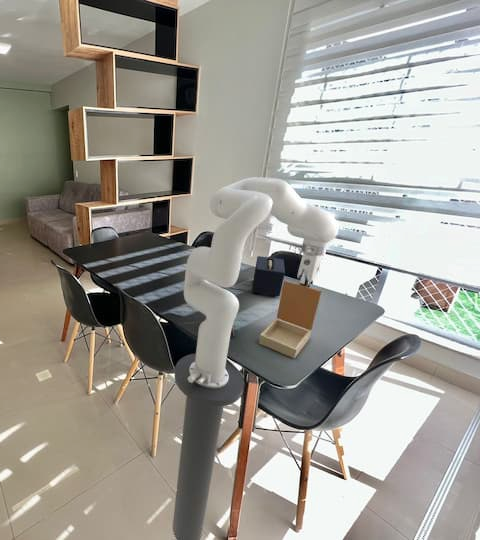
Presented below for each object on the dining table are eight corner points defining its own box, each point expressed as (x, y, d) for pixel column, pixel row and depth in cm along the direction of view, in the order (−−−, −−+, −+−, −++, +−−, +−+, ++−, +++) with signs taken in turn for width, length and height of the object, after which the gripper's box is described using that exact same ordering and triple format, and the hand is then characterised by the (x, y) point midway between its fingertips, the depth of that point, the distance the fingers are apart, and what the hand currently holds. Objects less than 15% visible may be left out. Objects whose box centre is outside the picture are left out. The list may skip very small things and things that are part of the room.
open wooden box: (294, 358, 102) (296, 349, 100) (258, 343, 110) (259, 334, 109) (308, 339, 112) (311, 331, 111) (274, 326, 121) (276, 318, 119)
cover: (321, 291, 103) (322, 290, 103) (283, 280, 111) (284, 280, 112) (311, 330, 110) (311, 329, 111) (276, 318, 119) (277, 317, 119)
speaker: (253, 279, 166) (257, 254, 161) (278, 283, 161) (283, 257, 155) (251, 294, 148) (256, 267, 143) (279, 299, 143) (285, 271, 137)
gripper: (319, 256, 97) (307, 304, 104) (331, 246, 106) (318, 291, 113) (295, 251, 102) (284, 297, 109) (308, 242, 112) (297, 285, 118)
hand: (302, 294), depth 111 cm, fingers closed
